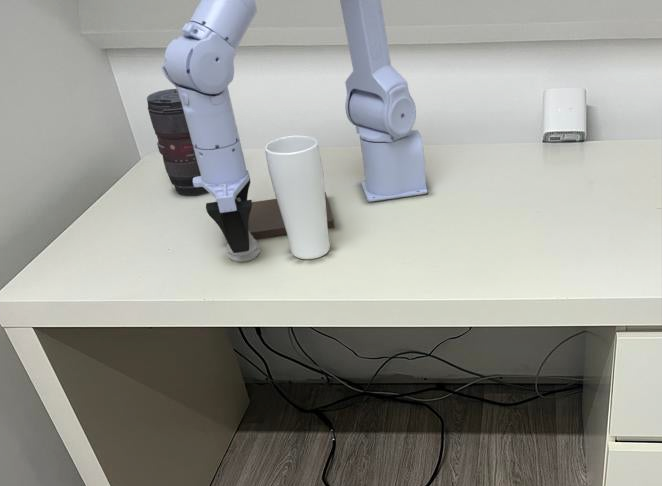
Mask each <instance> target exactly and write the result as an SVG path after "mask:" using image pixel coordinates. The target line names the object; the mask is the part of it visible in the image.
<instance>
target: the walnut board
mask: <svg viewBox="0 0 662 486" xmlns="http://www.w3.org/2000/svg"><path fill="white" fill-rule="evenodd" d="M325 201H326V214H327V226H328V230H329V229H335V228H336V226H335V220H334V217H333V213H332V209H331V205H330V203H329V199H328V196H327V192H326V191H325ZM248 230H249V232H250V234H251V235H252V236H253V238H254V239H255V240H261V239H270V238H276V237H283V236H287V232H286V229H285V225H284V222H283V219H282V215H281V212H280V209H279V206H278V202H277V199H276V198H272V199H264V200H258V201H252V208H251V212H250V215H249V222H248Z"/></svg>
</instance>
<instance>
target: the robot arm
mask: <svg viewBox="0 0 662 486" xmlns="http://www.w3.org/2000/svg"><path fill="white" fill-rule="evenodd" d="M339 3H340V7H341V8H340V9H341V12H342V13H341V14H342V18H343V24H344V28H345V34H346V39H347V45H348V50H349V56H350V61H351V66H352V71H351V73H350V74H349V75H348V77H347V78H346V80H345V82H344V84H345V89H346V90H345V91H346V97H345V107H344V108H345V114H346V117H347V119H348V121H349V122H350V124H352V126H355V132H356V134H357V135H359V142H360V149H361V150H360V151H361V157H362V165H363V173H364V179H363V180H361V181H360V185H361V187H362V189H363V193H364V195H365V197H366V200H367V202H369V203H371V202H378V201H386V200H391V199H399V198H406V197H413V196H420V195H426V194H428V192H429V191H428V189H427V188H428V187H427V176H426V174H427V173H426V163H425V161H426V160H425V151H424V145H423V140H422V136H421V133H420V131H419V130H418V129H413V128H414V125H415V123H416V118H417V108H416V102H415V101H414V98H413V97H412V96H411V94H410V90H409V85H408V81H407V80H406V79H405V77H403V76H402V75H401V74H400V73H399V72H398V70H396V68H394V66H393V64H392V61H391V56H390V50H389V43H388V37H387V31H386V24H385V17H384V12H383V4H382V0H339ZM257 12H258V8H257V4H256V0H200V2H199V3H198V5H197V7H196V9H195V11H194V12H193V14H192V16H191V18H190V19H189V21H188V22H185V23H184V25H183V26H182V28H181V31H182V36H178V37H177V38H174V39H172V40H171V41H170V42H169V43H168V45H167V47H166V49H165V52H164V62H163V63H164V64H163V65H161V70H162V72H163V74H164V77H165V78H166V79H167V81H168V82H170V83H171V84H172V85H173V86H174V87H175V89H177V90H178V93H179V97H180V99H181V103H182V106H183V110H184V114H185V118H186V121H187V125H188V129H189V133H190V136H191V140H192V144H193V148H194V151H195V155H196V159H197V163H198V166H199V170H200V174H201V176H198V177H194V178H193V185H194V187H204V188H205V189H206V190H207V191H208V192H207V193H209V194H210V195H211V196H212V197H213V198H215V200H216V201H211V202H206V203H205V210H206V213H207V214H208V216H209V217H210V218H211V219H212V220H213V221H214V222H215V224H216V225H217V226H218V228H219V229H220V231H221V232H222V234H223V236H224V238H225V240H226V242H227V243H228V244H229V246H230V248H231V250H232V251H233V253H239V252H245V251H249V230H248V222H249V215H250V212H251V208H252V202H253V200H252V199H248V195H249V189H250V187H251V176H250V175H251V174H250V172H249V170H248V169H247V165H246V161H245V157H244V152H243V151H244V150H243V147H242V142H241V139H240V135H239V131H238V126H237V122H236V117H235V114H234V108H233V104H232V99H231V95H230V91H229V85H230V84H231V83H232V82H233V80H234V77H235V63H234V60H235V57H236V51H237V50H238V48H239V46H240V43H241V42H242V40H243V38H244V36H245V34H246V33H247V31H248V29H249V28H250V26H251V23H252V21H253V20H254V17H255V16H256V14H257ZM235 197H236V198H240V199H241V201H238V200H237V199H236V200H235Z"/></svg>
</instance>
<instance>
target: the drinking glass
mask: <svg viewBox="0 0 662 486" xmlns="http://www.w3.org/2000/svg"><path fill="white" fill-rule="evenodd" d="M264 152H265V159H266V163H267V170H268V174H269V177H270V182H271V185H272V189H273V192H274V196H275V199H277V202H278V206H279V209H280V212H281V215H282V219H283V222H284V225H285V229H286V232H287V235H286V236H287V239H288V243H289V249H290V252H291V254H292V256H294V257H295V258H298V259H302V260H313V259H318V258H321V257H323V256H324V255H326V254H327V253H328V252H329V251H330V248H331V242H330V237H329V236H330V235H329V229H328V226H327V214H326V201H325V192H326V190H325V189H326V188H325V176H324V168H323V162H322V161H323V160H322V156H321V151H320V147H319V142H318V140H317V139H316V138H314V137H313V136H308V135H289V136H282V137H279V138H275V139H273V140H270V141H269V142H268V143H267V144H266V145H265V146H264Z"/></svg>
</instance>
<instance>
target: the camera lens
mask: <svg viewBox="0 0 662 486" xmlns="http://www.w3.org/2000/svg"><path fill="white" fill-rule="evenodd" d="M146 101H147V102H146V103H147V110H148V114H149V118H150V122H151V125H152V128H153V131H154V134H155V135H156V139H157V142H156V146H157V149H158V152H159V153H160V155H161V156H162V161H163V163H164V168H165V171H166V174H167V176H168V178H169V181H170V183H171V185H173V186H174V188H175V191H176V193H177V194H178V195H180V196H186V197H192V196H200V195H204V194H208V193H209V192H208V191H207V190H206V189H205V188H204V187H194V185H193V178H194V177H198V176H201V174H200V170H199V166H198V163H197V159H196V155H195V151H194V148H193V144H192V140H191V136H190V133H189V129H188V125H187V121H186V118H185V114H184V110H183V106H182V103H181V99H180V97H179V93H178V90H177V88H170V89H163V90H158V91H155V92H152V93H150V94H149V95H148V96H146Z"/></svg>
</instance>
